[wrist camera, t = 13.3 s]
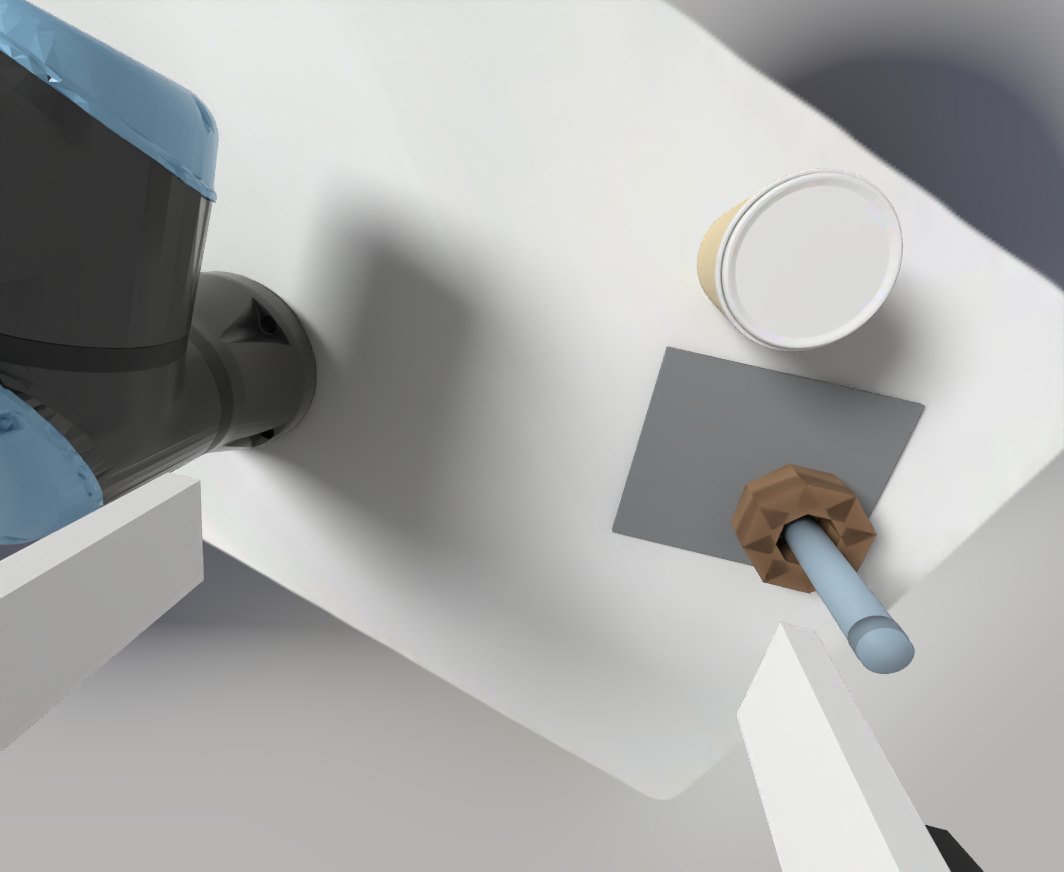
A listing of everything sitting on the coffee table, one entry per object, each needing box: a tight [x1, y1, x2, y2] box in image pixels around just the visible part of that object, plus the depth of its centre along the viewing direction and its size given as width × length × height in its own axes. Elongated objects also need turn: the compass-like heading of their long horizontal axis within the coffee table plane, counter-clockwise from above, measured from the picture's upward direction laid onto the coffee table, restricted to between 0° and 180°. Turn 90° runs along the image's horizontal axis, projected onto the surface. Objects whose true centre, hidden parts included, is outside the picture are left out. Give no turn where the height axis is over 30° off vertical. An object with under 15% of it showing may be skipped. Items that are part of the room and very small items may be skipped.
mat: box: [612, 347, 925, 566], centre depth 44 cm, size 20×17×1 cm
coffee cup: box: [697, 168, 903, 351], centre depth 33 cm, size 9×9×12 cm
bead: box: [731, 464, 876, 593], centre depth 43 cm, size 9×9×4 cm
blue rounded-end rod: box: [781, 514, 915, 674], centre depth 37 cm, size 3×3×16 cm
